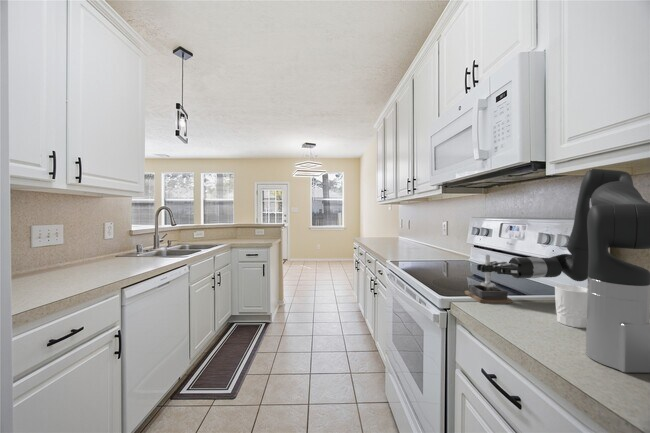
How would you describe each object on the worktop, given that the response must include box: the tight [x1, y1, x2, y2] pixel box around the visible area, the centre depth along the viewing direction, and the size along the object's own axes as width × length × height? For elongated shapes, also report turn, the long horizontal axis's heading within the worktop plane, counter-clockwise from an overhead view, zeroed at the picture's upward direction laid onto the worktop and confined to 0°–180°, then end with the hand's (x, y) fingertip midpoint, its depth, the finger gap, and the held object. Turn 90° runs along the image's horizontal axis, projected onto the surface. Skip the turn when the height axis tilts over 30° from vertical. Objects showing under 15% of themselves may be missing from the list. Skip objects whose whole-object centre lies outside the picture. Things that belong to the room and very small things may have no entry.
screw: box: [479, 254, 497, 291], centre depth 103 cm, size 13×5×5 cm
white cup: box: [554, 284, 588, 329], centre depth 80 cm, size 8×8×10 cm
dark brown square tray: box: [464, 284, 513, 304], centre depth 103 cm, size 11×11×4 cm
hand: (479, 268), depth 103 cm, fingers closed on screw, 2 cm apart
